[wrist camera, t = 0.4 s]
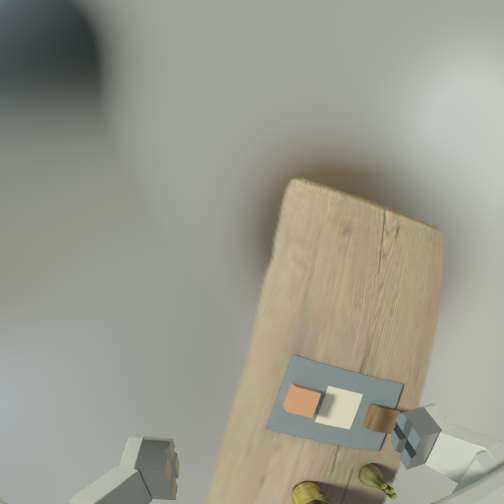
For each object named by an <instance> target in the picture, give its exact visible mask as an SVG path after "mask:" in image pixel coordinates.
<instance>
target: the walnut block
mask: <svg viewBox="0 0 504 504" xmlns="http://www.w3.org/2000/svg"><path fill="white" fill-rule="evenodd" d="M399 413H400V411H398V410H395V409H393V408H390V407H386V406H381V405H376V404H371V403H370V406H369V408H368V411H367V414H366V417H365V419H364V422H363V424H362V425H363V426H365V427H366V428H368V429H369V430H371V431H375V432H382V433H388V434H392V431H393V429H394V427H395V425H396V418H397V416H398V414H399Z"/></svg>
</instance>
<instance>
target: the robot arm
mask: <svg viewBox="0 0 504 504" xmlns="http://www.w3.org/2000/svg"><path fill="white" fill-rule="evenodd" d="M396 422H397V425H396V426H395V427H394V429H393V431H392V434H391V442H392V445H393V447H394V449H395V451H397V452H399V453H401V456H400V459H401V461H402V463H403V464H404V466H405V468H406V469H409V468H413V467H416V466H419V465H422V464H425V465H427V466H429V467H430V468H432V469H434V470H435V471H437V472H439V473H441V474H442V475H444V476H446V477H448V478H449V479H451V480H453V481H455V482H457V483H458V485H457V486H456V488H455V489H454V491H453V493H452V494H451V495H449V496H447V497H445V498H443V499H440V500H438V501H436V502H434V503H431V504H504V444H503V443H502V441H500V440H496V439H494V438H491V437H488V436H484V435H482V434H479V433H476V432H473V431H470V430H467V429H464V428H461V427H459V426H454V427H453V426H452V424H451V423H450V422H449V421H448V420H447V418H446V417H445V416H444V415H443V414H442V413H441V411H440V410H439V409H438V408H437V407H436V406H435V405H434V404H429V405H426V406H423V407H419V408H416V409H413V410H409V411H406V412H402V413H399V414H398V416H397V418H396ZM174 448H175V445H174V441H173V439H168V438H155V437H141V436H132V435H131V436H130V437H129V438H128V441H127V444H126V447H125V451H124V454H123V457H122V460H121V463H120V467H115V468H113V469H112V470H111V471H109V472H108V473H106V474H105V475H104V476H102V477H101V478H99V479H98V480H96V481H95V482H94V483H92V484H91V485H89V486H88V487H86V488H85V489H83V490H82V491H80V492H79V493H77V494H76V495H74V496H73V497H72V498H71V499H70V502H69V504H149V503H150V502H151V501H152V499H166V500H176V493H177V484H176V481H175V479H176V478H178V476H179V461H178V456H177V453H176V452H174ZM0 504H8V503H6V502H4V501H1V500H0Z"/></svg>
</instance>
